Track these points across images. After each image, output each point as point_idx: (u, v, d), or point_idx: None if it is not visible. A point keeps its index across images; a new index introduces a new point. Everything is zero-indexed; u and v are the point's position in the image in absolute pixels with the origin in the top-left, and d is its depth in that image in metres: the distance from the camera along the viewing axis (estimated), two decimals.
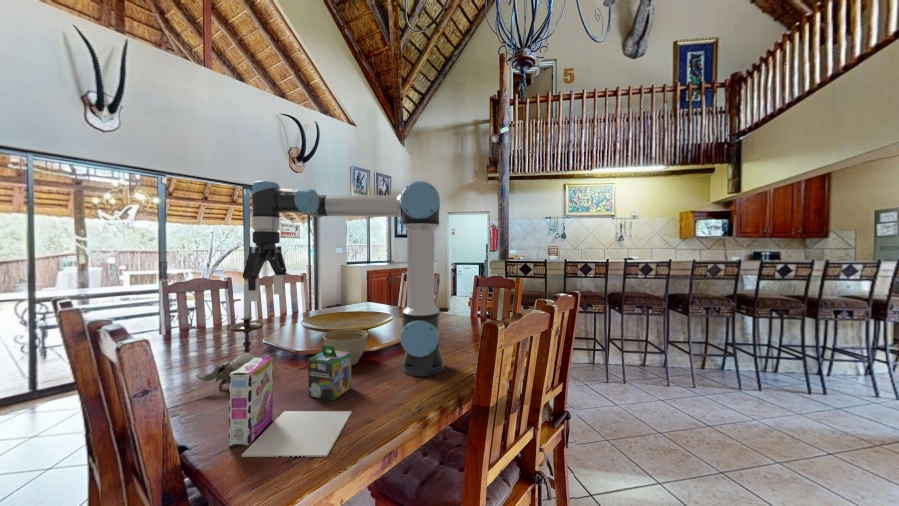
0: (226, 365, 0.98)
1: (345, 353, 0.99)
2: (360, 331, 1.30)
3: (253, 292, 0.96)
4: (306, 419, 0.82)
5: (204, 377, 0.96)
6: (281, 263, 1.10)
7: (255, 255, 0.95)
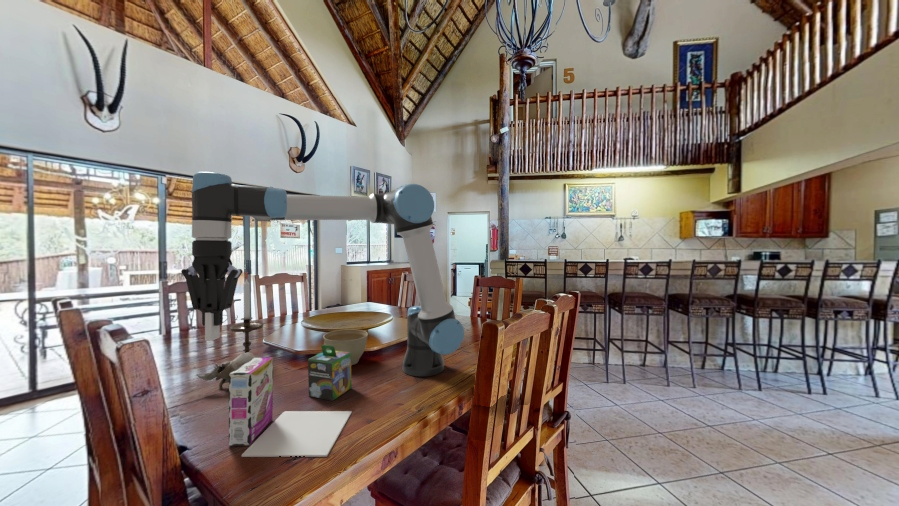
0: (226, 364, 0.98)
1: (345, 353, 0.99)
2: (360, 331, 1.30)
3: None
4: (306, 419, 0.82)
5: (204, 376, 0.97)
6: None
7: None
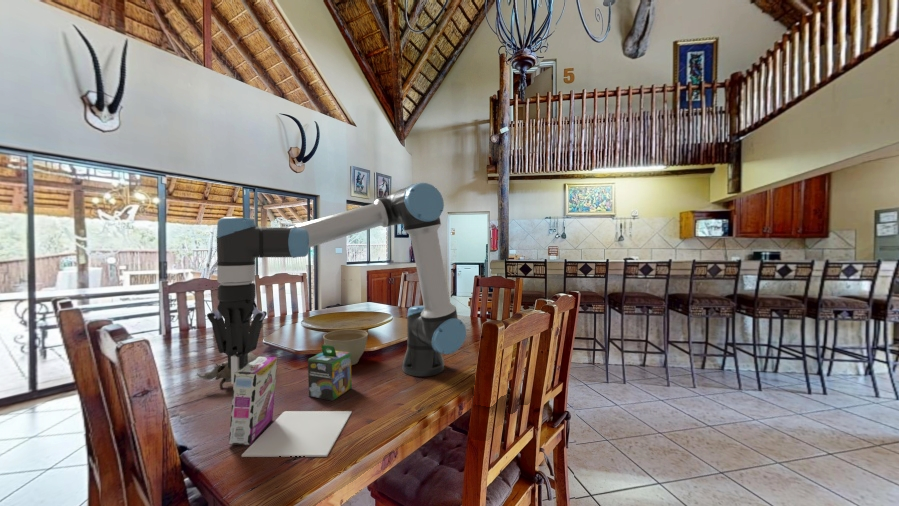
0: (226, 364, 0.99)
1: (345, 353, 0.99)
2: (360, 331, 1.30)
3: None
4: (306, 419, 0.82)
5: (204, 375, 0.97)
6: None
7: None
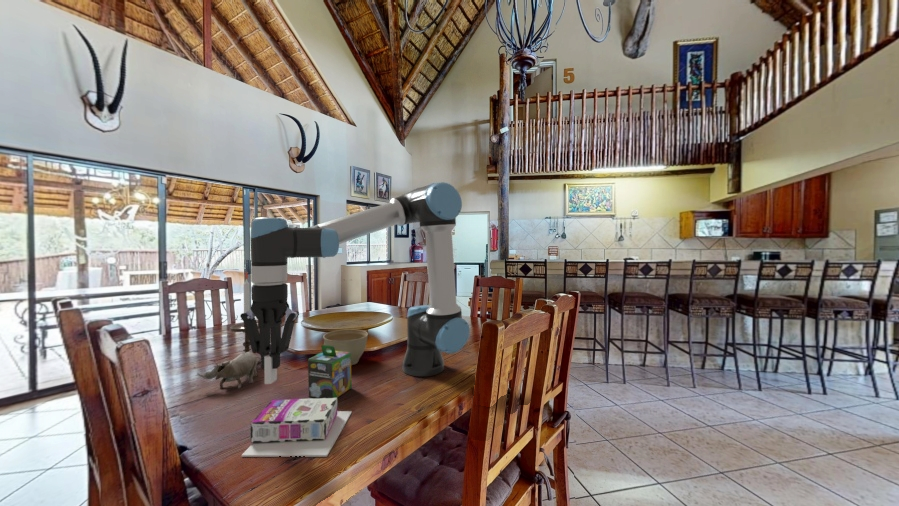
0: (226, 364, 0.99)
1: (345, 353, 0.99)
2: (360, 331, 1.30)
3: None
4: None
5: (204, 375, 0.98)
6: None
7: None
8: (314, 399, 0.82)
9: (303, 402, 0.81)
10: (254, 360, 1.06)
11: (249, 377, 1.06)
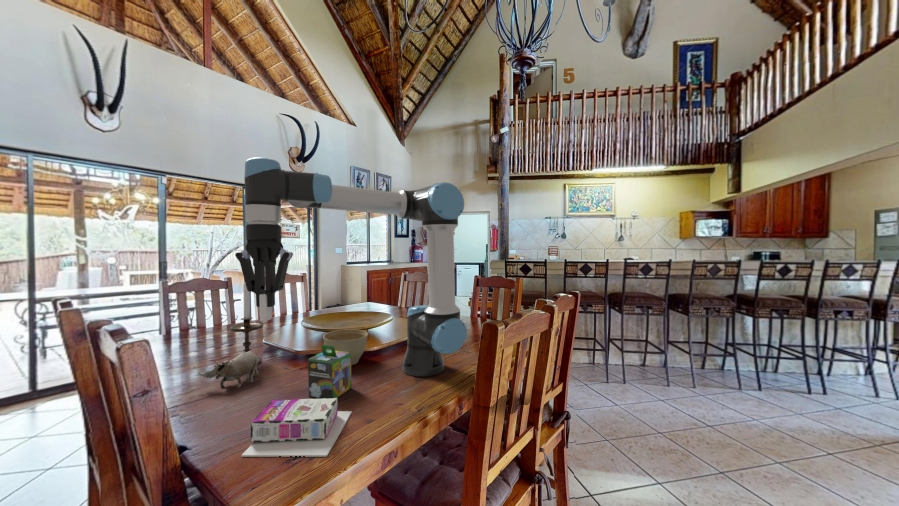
0: (226, 363, 1.00)
1: (345, 353, 0.99)
2: (360, 331, 1.30)
3: None
4: None
5: (205, 374, 0.98)
6: None
7: None
8: (315, 400, 0.82)
9: (303, 402, 0.81)
10: (254, 360, 1.07)
11: (249, 376, 1.06)
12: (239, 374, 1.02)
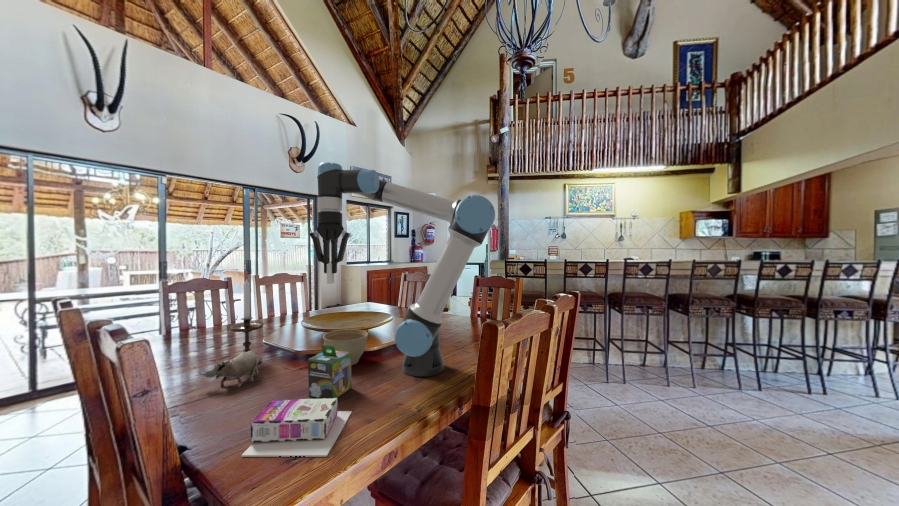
0: (226, 363, 1.00)
1: (345, 353, 0.99)
2: (360, 331, 1.30)
3: None
4: None
5: (205, 373, 0.99)
6: None
7: None
8: (315, 400, 0.82)
9: (303, 402, 0.81)
10: (254, 359, 1.07)
11: (250, 376, 1.06)
12: (239, 374, 1.02)
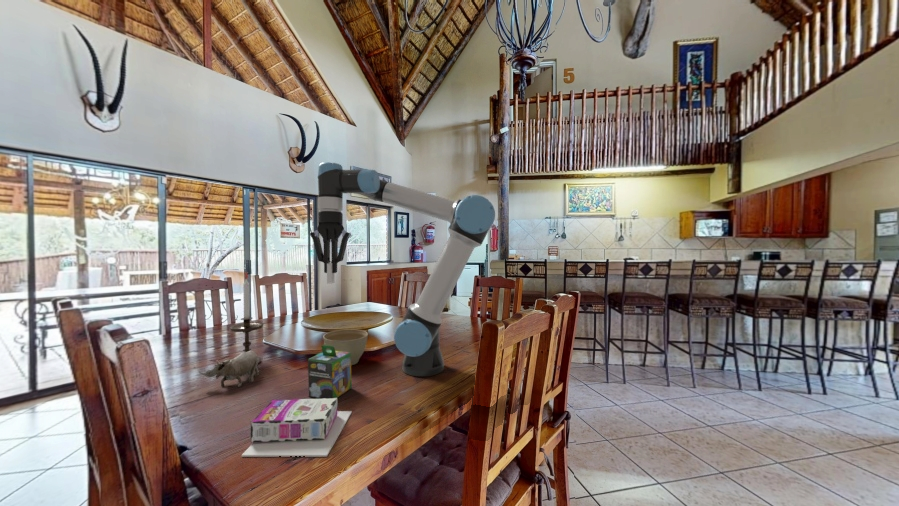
0: (226, 362, 1.00)
1: (345, 353, 0.99)
2: (360, 331, 1.30)
3: None
4: None
5: (205, 373, 0.99)
6: None
7: None
8: (315, 400, 0.82)
9: (303, 402, 0.81)
10: (255, 359, 1.07)
11: (250, 376, 1.07)
12: (239, 373, 1.02)
